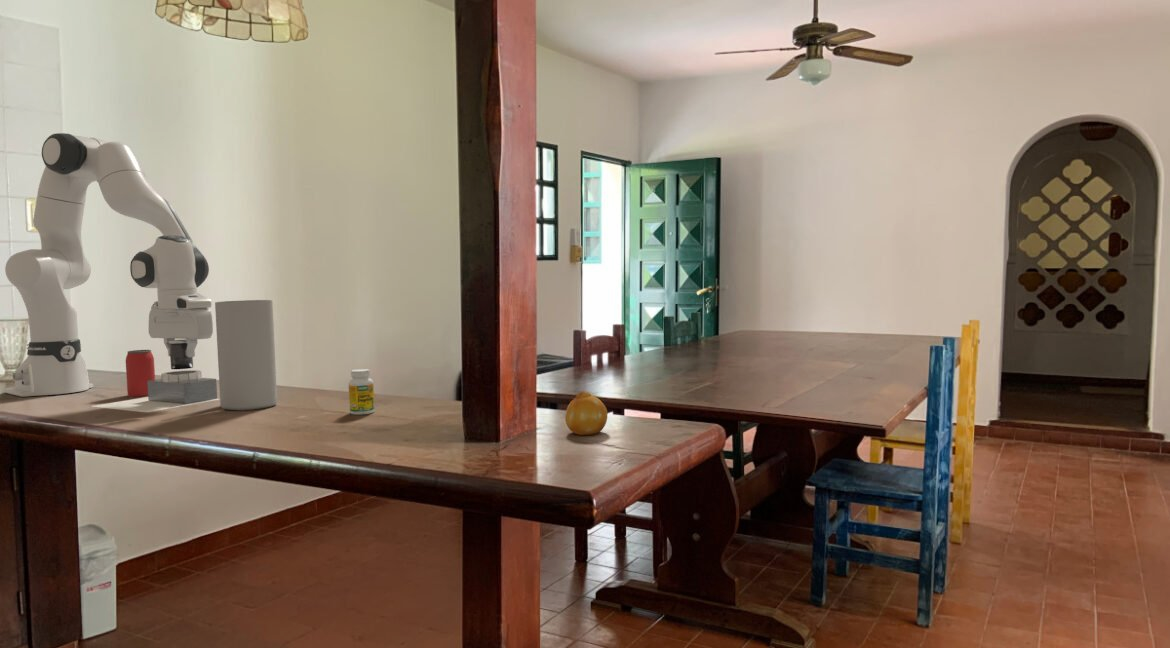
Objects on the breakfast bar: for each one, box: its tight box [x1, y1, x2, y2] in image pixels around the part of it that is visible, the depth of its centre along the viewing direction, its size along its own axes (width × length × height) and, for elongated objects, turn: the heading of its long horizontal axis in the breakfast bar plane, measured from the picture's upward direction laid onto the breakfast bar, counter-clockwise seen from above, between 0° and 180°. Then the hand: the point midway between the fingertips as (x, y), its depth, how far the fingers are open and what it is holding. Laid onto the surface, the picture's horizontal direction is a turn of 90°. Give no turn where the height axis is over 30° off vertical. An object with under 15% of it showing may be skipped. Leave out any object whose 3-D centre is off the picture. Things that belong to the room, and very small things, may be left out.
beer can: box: [125, 349, 156, 398], centre depth 217 cm, size 7×7×12 cm
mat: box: [90, 396, 220, 414], centre depth 204 cm, size 22×20×1 cm
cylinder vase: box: [214, 299, 278, 412], centre depth 197 cm, size 12×12×25 cm
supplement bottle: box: [348, 368, 375, 416], centre depth 185 cm, size 5×5×10 cm
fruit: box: [564, 391, 608, 436], centre depth 158 cm, size 8×8×8 cm
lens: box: [169, 339, 194, 370], centre depth 207 cm, size 5×5×7 cm
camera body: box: [147, 369, 218, 404], centre depth 208 cm, size 14×9×7 cm, turn 61°
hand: (181, 356), depth 207 cm, fingers closed on lens, 5 cm apart
